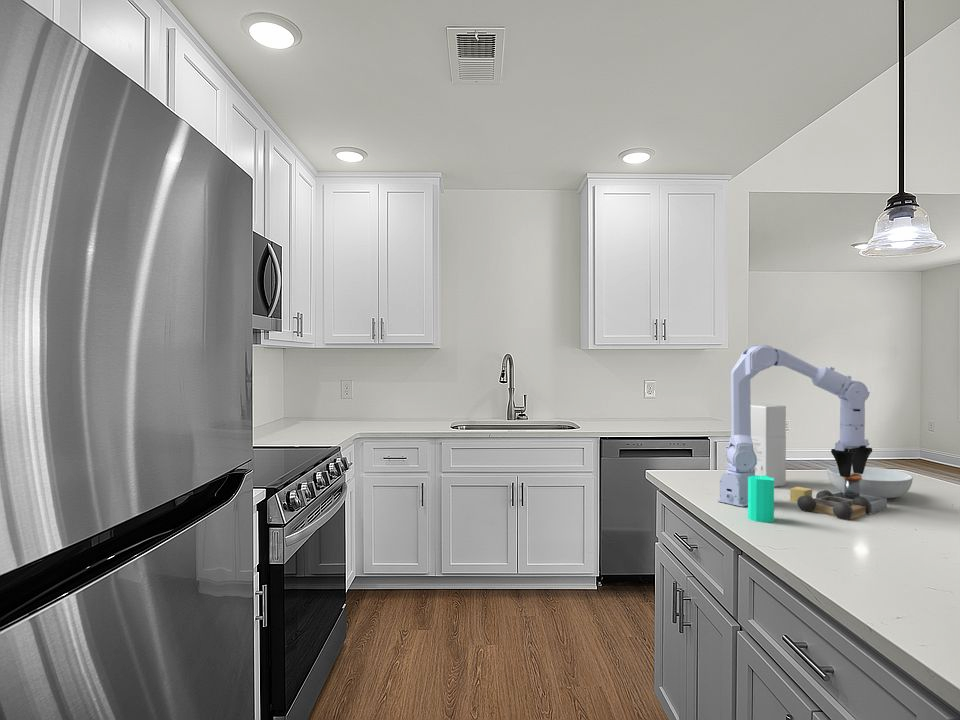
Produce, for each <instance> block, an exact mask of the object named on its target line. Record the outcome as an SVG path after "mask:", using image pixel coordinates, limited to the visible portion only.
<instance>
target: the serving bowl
mask: <svg viewBox="0 0 960 720" xmlns="http://www.w3.org/2000/svg"><path fill="white" fill-rule="evenodd" d="M851 473H854V472H853V467H851ZM854 474H857V473H854ZM860 475H862V480H860V494H861V495H866V496H872V497H878V498H883V499H894V498H898V497H901V496H902V495H903V496H904V495H905V494H906V493H908V491H909V490H910V489H911V487H912V484H913V480H914V478H913V476H912V475H910V474H909V473H905V472H903V471H899V470H895V469H889V468H882V467H876V466H865V469H864V472H863V474H860ZM827 476H828V479H829V481H830V483H831V484H832V485H833V486H834V487H835V488H836V489H837V490H838V491H844V489H845V479H844V478H843V477H842V476H840V473H839V469H838V466H837V465H835V466H830V467H827Z"/></svg>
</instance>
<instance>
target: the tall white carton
mask: <svg viewBox="0 0 960 720" xmlns="http://www.w3.org/2000/svg"><path fill="white" fill-rule="evenodd" d="M786 409H787V407H786V405H779V404H768V403H754V404H753V403H752V404H751V439H752V442H753V450H754V453H755V454H756V456H757V464H756V466H755V467H754V468H755V475H764V476H768V477H770V478H774V488H775V487H782V486H786V476H787V475H786V471H787V470H786V467H787V465H786V462H787V461H786V459H787V458H786V455H787V452H786V451H787V446H786V445H787V444H786V443H787V441H786V439H787V437H786V431H787V428H786V427H787V425H786V423H787V419H786V417H787V415H786V414H787V413H786V412H787V411H786Z"/></svg>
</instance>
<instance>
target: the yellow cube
mask: <svg viewBox="0 0 960 720" xmlns="http://www.w3.org/2000/svg"><path fill="white" fill-rule="evenodd" d="M789 492H790V493H789V494H790V495H789V496H790V497H789V498H790V499H789V500H790V502H791V501H792V502H796V503H797V500H798V498H799V497H801V496H804V495H809V496H811V497H812V498H813V489H812V488H809V487H808V488H807V487H802V486H795V487H791V488H790V490H789Z"/></svg>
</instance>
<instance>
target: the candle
mask: <svg viewBox="0 0 960 720" xmlns="http://www.w3.org/2000/svg"><path fill="white" fill-rule="evenodd" d="M747 519H748V520H750V521H753V522H757V523H772V522H773V523H774V521H775V487H774V478H770V477H768V476H764V475H754V476H749V477H748V506H747Z"/></svg>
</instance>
